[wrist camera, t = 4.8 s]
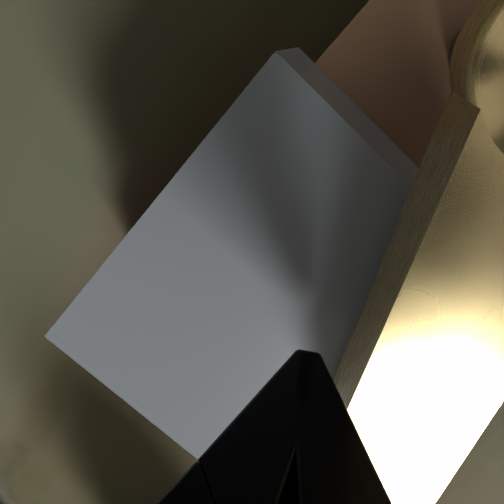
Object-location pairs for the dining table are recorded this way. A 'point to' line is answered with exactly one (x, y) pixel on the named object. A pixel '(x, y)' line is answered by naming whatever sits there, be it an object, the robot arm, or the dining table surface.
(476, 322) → the tan rectangular bar
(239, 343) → the cover
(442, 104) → the key box
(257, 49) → the dining table surface
